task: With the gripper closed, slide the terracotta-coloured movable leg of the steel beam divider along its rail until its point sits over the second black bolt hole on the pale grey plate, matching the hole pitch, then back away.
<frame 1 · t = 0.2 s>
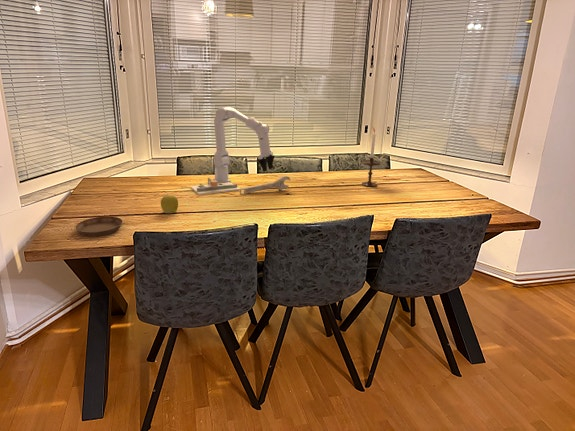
hand: (267, 169, 231), 11 cm above the table, tool pointing down, fingers open, 7 cm apart
apple: (170, 212, 189), on the table
candlestick: (369, 185, 245), on the table
plant saucer: (100, 230, 166), on the table
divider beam: (215, 189, 228), resting on hole plate
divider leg: (211, 183, 226), point 4 cm above the table, slide at 5.0 cm
wrench: (265, 192, 226), on the table
hole plate: (215, 189, 228), on the table
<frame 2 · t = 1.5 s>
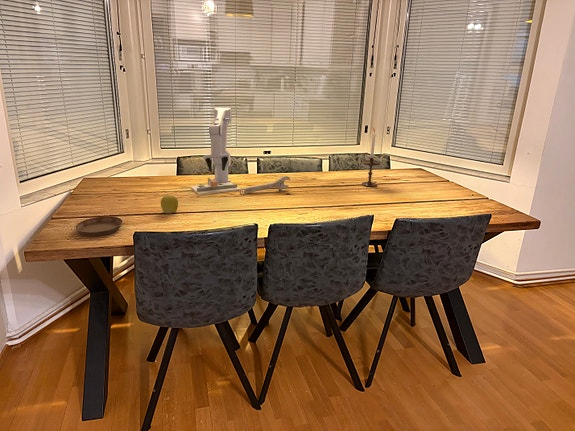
hand: (216, 170, 228), 10 cm above the table, tool pointing down, fingers open, 7 cm apart
nothing on the table moved.
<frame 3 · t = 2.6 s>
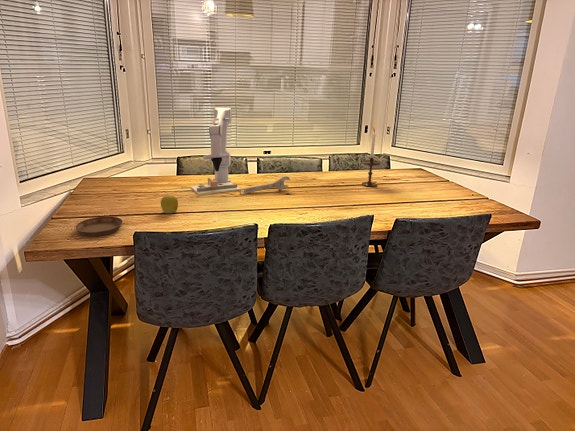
hand: (216, 170, 228), 10 cm above the table, tool pointing down, fingers closed
nothing on the table moved.
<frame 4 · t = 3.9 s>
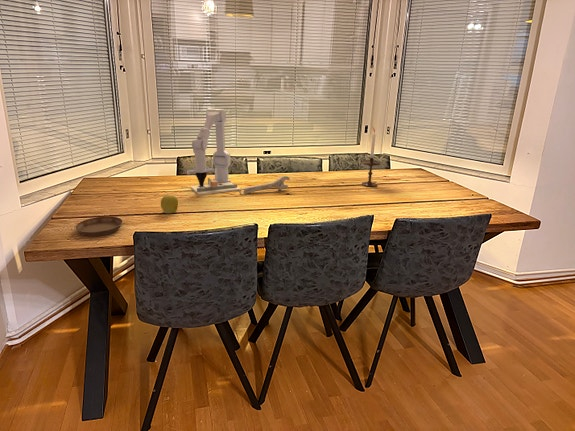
hand: (201, 186, 220), 4 cm above the table, tool pointing down, fingers closed
nothing on the table moved.
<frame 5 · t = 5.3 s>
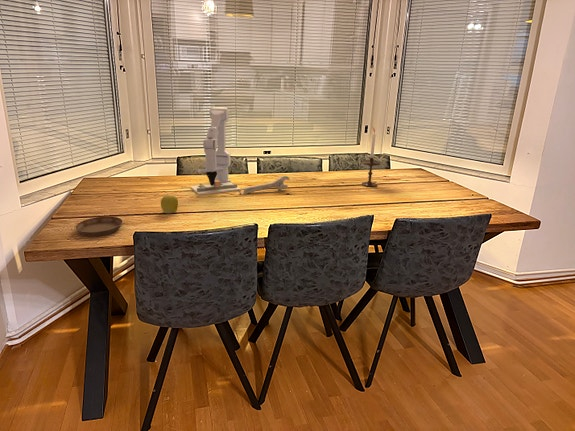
hand: (211, 185, 223), 4 cm above the table, tool pointing down, fingers closed
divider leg: (214, 183, 227), point 4 cm above the table, slide at 6.7 cm, touching gripper
everything else where it was.
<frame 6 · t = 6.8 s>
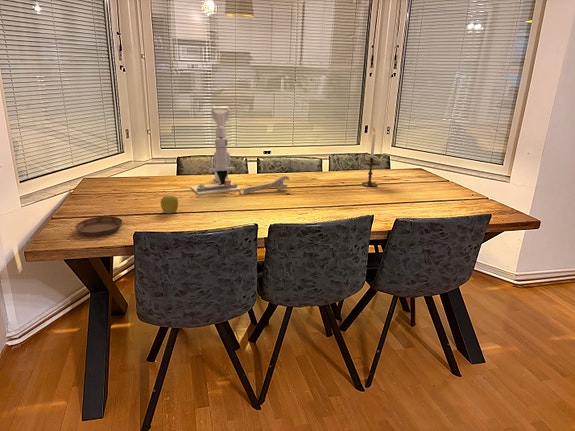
hand: (222, 184, 225), 4 cm above the table, tool pointing down, fingers closed
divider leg: (224, 181, 230), point 4 cm above the table, slide at 12.8 cm, touching gripper
everything else where it was.
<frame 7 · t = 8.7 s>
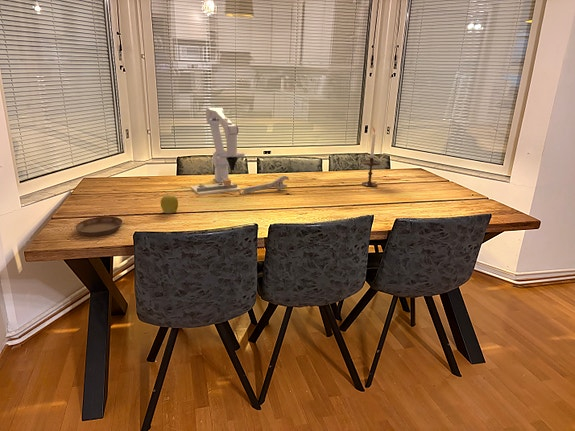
hand: (232, 170, 231), 10 cm above the table, tool pointing down, fingers closed
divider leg: (224, 181, 230), point 4 cm above the table, slide at 12.8 cm
everything else where it was.
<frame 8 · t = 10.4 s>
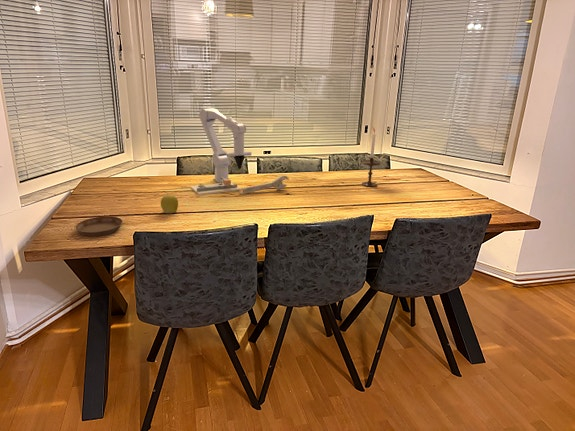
hand: (239, 168, 235), 10 cm above the table, tool pointing down, fingers closed
nothing on the table moved.
at the end: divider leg slide at 12.8 cm; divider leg 0.8 cm from the target spot, resting on hole plate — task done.
